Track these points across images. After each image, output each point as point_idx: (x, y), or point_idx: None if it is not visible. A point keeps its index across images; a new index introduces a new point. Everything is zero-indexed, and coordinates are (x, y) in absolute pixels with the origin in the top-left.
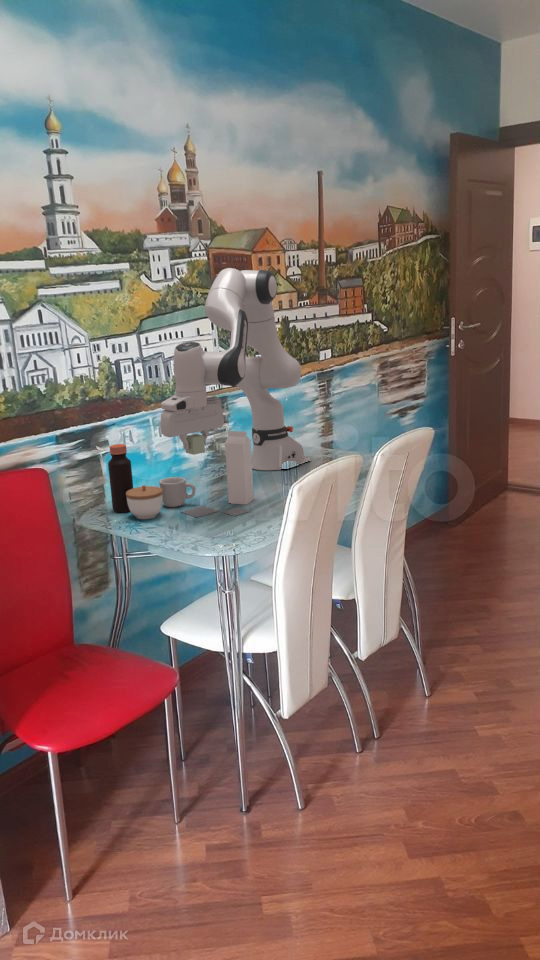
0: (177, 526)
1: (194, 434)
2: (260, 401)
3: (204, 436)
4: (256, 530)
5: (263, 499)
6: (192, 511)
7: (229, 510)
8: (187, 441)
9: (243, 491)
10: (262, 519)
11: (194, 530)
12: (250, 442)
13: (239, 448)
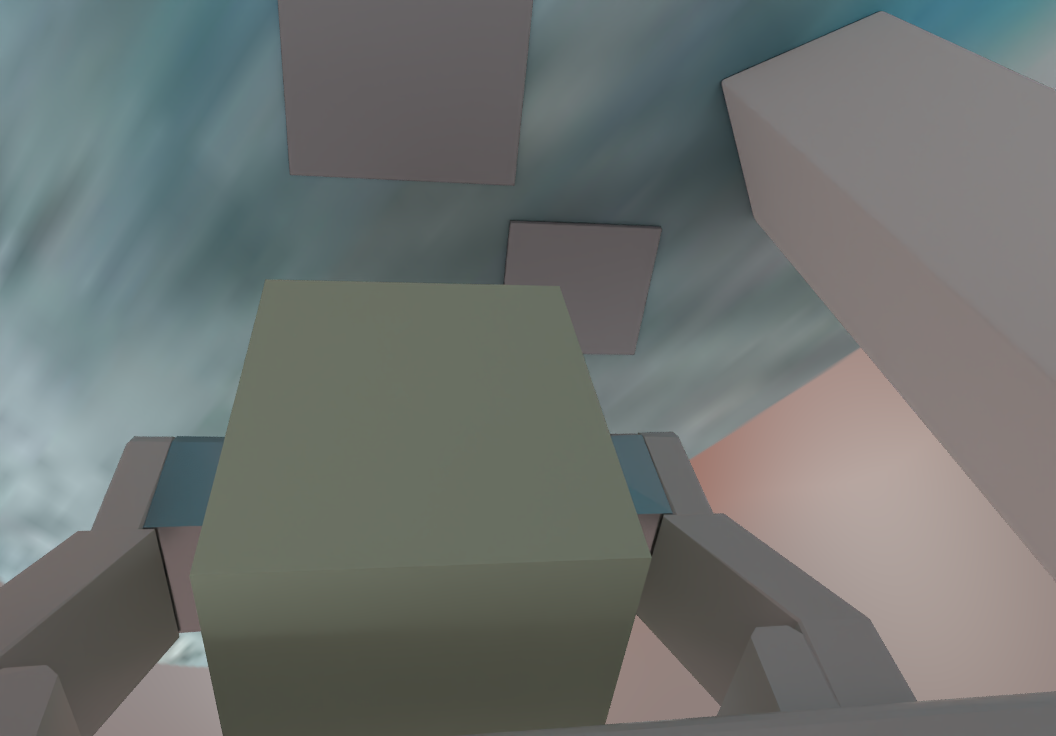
0: (47, 224)
1: (555, 599)
2: None
3: (697, 651)
4: None
5: None
6: (357, 11)
7: (567, 241)
8: (138, 681)
9: (791, 251)
10: None
11: (116, 377)
12: None
13: (1032, 525)
